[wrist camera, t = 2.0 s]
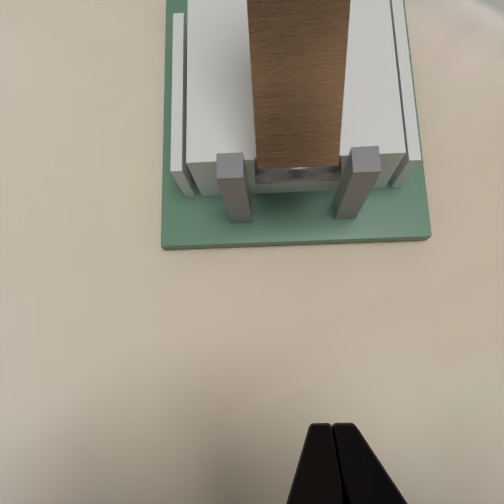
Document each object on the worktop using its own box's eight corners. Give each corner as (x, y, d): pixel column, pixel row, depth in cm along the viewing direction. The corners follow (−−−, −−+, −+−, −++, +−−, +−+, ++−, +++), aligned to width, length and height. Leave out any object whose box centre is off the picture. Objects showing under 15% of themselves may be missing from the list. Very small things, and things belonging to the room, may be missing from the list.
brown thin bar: (340, 185, 18) (375, -269, 10) (255, 188, 18) (226, -256, 10) (336, 171, 18) (367, -262, 11) (256, 174, 18) (228, -249, 11)
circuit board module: (426, 240, 23) (488, 189, 16) (165, 249, 23) (118, 204, 17) (396, -24, 26) (437, -158, 20) (170, -9, 27) (133, -134, 20)
